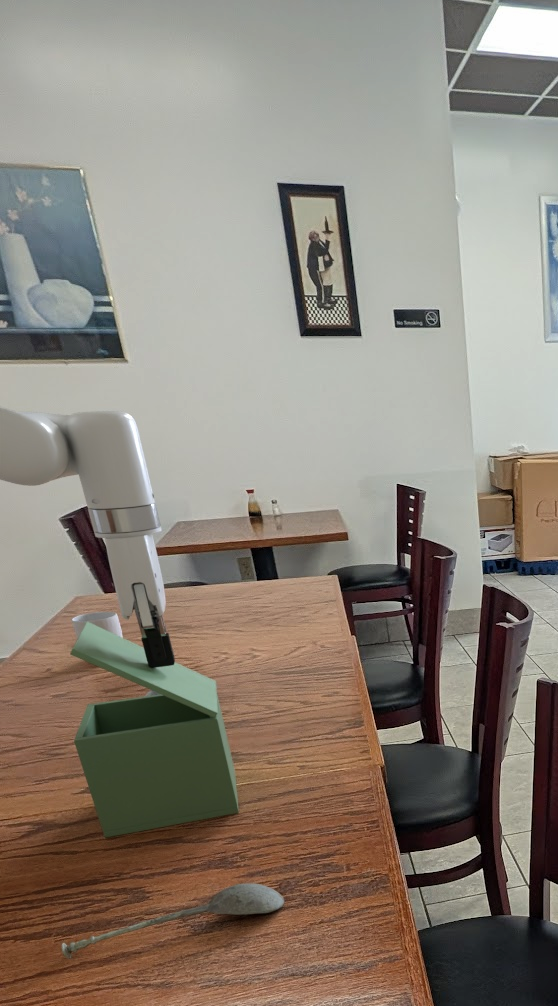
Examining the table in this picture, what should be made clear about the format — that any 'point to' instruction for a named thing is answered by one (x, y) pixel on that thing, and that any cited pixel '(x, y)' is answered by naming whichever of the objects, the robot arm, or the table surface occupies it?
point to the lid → (145, 669)
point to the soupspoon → (205, 910)
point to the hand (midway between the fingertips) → (162, 664)
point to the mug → (98, 622)
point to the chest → (155, 764)
